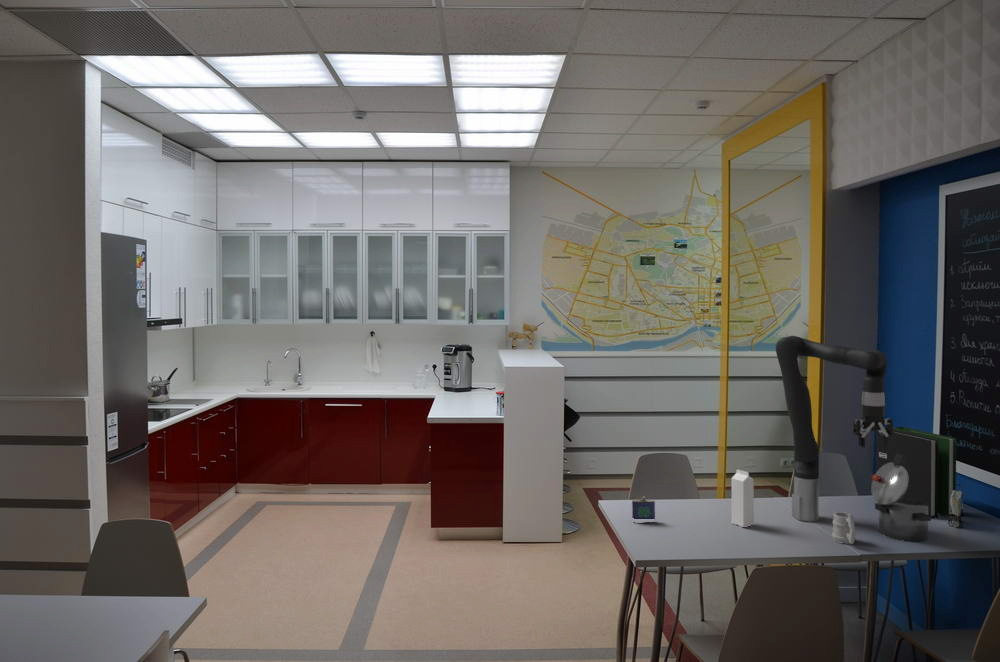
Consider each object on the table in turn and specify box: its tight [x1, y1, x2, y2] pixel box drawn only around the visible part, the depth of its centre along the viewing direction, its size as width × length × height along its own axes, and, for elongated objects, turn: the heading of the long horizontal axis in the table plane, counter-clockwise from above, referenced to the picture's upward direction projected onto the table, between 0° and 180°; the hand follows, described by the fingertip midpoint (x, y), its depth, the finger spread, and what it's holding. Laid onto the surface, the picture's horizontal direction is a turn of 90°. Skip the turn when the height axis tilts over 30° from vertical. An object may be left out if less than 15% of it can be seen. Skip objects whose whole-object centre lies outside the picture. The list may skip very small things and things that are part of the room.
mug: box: [831, 511, 856, 545], centre depth 243 cm, size 8×12×12 cm, turn 177°
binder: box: [875, 426, 957, 519], centre depth 281 cm, size 27×15×32 cm, turn 13°
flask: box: [631, 495, 656, 520], centre depth 269 cm, size 9×3×11 cm, turn 88°
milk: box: [731, 468, 755, 527], centre depth 264 cm, size 6×6×22 cm
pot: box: [874, 498, 932, 543], centre depth 250 cm, size 17×25×12 cm
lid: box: [870, 453, 909, 506], centre depth 249 cm, size 20×17×4 cm
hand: (872, 446), depth 248 cm, fingers open, 8 cm apart
